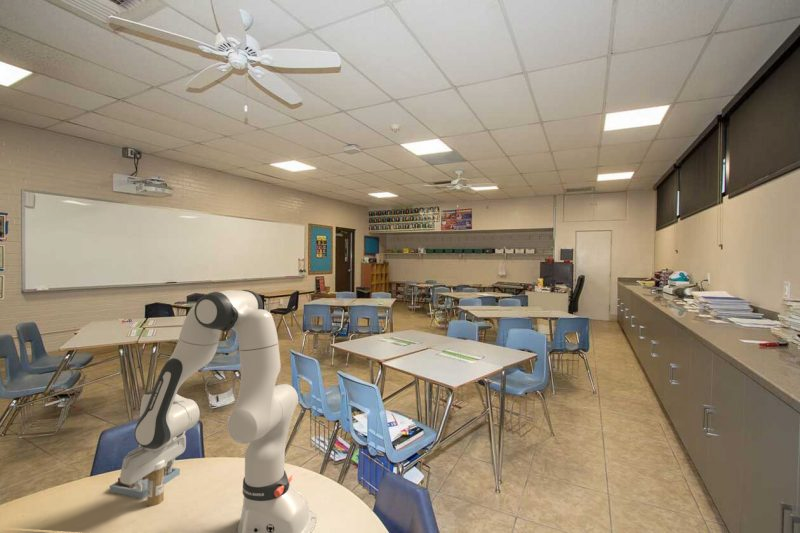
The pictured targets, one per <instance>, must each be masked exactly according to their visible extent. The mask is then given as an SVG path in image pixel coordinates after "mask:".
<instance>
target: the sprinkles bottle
mask: <svg viewBox="0 0 800 533" xmlns="http://www.w3.org/2000/svg"><path fill="white" fill-rule="evenodd" d="M164 466H166V464H165V460H163V461H161V462H159V463H158V464H156V465H155V470H154V471H153V472H151V473H149V474H148V489H147V496H146V497H147V503H146V505H147V506H148V507H154V506H155V507H156V506H158V505H160V504H161V503H163V502H164V500H165V496H164V494H165V493H164V490H165V484H164Z"/></svg>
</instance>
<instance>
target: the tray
mask: <svg viewBox="0 0 800 533" xmlns="http://www.w3.org/2000/svg"><path fill="white" fill-rule="evenodd" d="M165 467H166V465H164V468H165ZM180 473H181V468H178V467H173V466H172V472H170V473H169V474H164V485H166V484H167V483H169V482H170V481H172V480H173V479H175V478H176V477H177V476H180V475H181V474H180ZM141 483H144V484H145V489H144V490H143V491H141V492H137V491H136V486H135V487H133V488H128V487H123V486H118V480H117V481H115V482H114V483H112V484H111V485H109V492H110V493H115V494H120V495H124V496H128V497H132V498H137V499H145V498H147V497H148V496H147V489H148V478H147V479H145V480H144V479H142V481H141Z"/></svg>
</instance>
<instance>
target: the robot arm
mask: <svg viewBox="0 0 800 533" xmlns="http://www.w3.org/2000/svg"><path fill="white" fill-rule="evenodd" d="M263 308H264V303H263V300H262V297H261V296H260V295H259V294H258V293H257V292H255V291H252V290H249V289H241V290H240V289H239V290H235V289H234V290H233V289H226V290H222V291H221V290H220V291H213V292H209V293H206V294H205V295H202V296H201V297H200V298H199V299H197V301H196V303H195V305H194V306H192V307H191V308H190V309H189V310H188V313H187V314H186V317H185V319H184V321H183V324H182V326H181V329H180V333H179V337H178V341H177V343H176V345H175V348H174V350H173V352H172V353H171V355H170V356H169V358H168V360H167V361H166V363H165V364H164V365H163V367H162V369H161V370H160V373H159V374H158V377H157V379H156V382H155V385H154V387H153V388H152V389H150V390H148V391H147V392H145V393H144V394H143V396H142V398H141V401H140V408H139V418H138V420H137V422H136V425H135V428H134V439H135V441H136V443H137V444H138V447H136V448H135V449H132V450H131V451H129V452H128V453H127V454H126V455H125V457H124V458H123V459H122V465H121V470H120V476H119V477H120V482H121V483H123V484H127V485H131V484H133V483H134V484H135V485H136V491H137V492H141V491H143V490H144V489H145V484H144V483H141V481H142V478H143V477H145V476H146V475H148V474H149V473H151V472H153V471H154V470H155V465H156V464H158V463H159V462H161V461H163V460H165V466H166V467H165V468H164V474H169V473H170V472H172V467H173V466H174V464H175V462H176V458H177V457H179V456H180V455H182V454H184V453H185V450H186V448H187V436H186V431H188V430H190V429H191V428H193V427H195V426H196V425H197V424H198V423H199V421H200V420H201V419H200V417H201V413H202V412H201V407H200V405H199V403H198V402H197V401H195V400H194V399H192V398H186V397H184V396H181V395H180V394H178V391H179V389H180V387H181V386H182V385H183V384H184V382H185V381H186V380H188V379H189V378H190V377H191V376H192V375H194V374H195V373H196V372H198V371H199V370H201V369H203V368H204V367H206V366H207V365H208V364H209V363H210V362H211V361H212V360H213V358H214V356H215V354H216V352H217V350H218V347H219V342H220V337H221V333H222V332H229V331H231V330H233V331H234V332H235V333H236V336H237V339H238V349H239V350H238V351H239V364H240V383H239V388H238V395H237V398H236V402H235V405H234V407H233V409H232V411H231V412H230V414H229V416H228V418H227V420H226V430H227V432H228V433H227V434H229V437H230V438H231V439H232V440H233V441H234V442H235V443H237V444H240V445H246V444H248V445H247V448H246V449H245V450H246V451H245V454H244V477H243V479H242V480H243V481H242V495H243V501H242V502H243V504H242V510H241V514H240V519H239V522H238V525H237V533H309V532H310V531H311V530H312V528H313V526H314V524H315V522H316V523H317V520H316V518H317V513H316V512H314V511H313V510H310V509H309V508H310V507H309V504H308V503H309V502H308V501H307V498H306V497H304V496H303V495H302V494H301V493H300V492H299V491H298V490H296V489H295V488H294V487H293V486H292V485H291V484H290V483H291V481H292V480H293V475H290V476H289V478H288V475H287V473H286V470H285V460H286V459H285V458H286V457H285V456H286V455H285V454H286V452H285V451H286V446H287V445H286V444H287V439H288V435H289V430H290V425H291V423H292V419H293V416H294V413H295V410H296V408H297V406H298V404H299V395H298V391H297V390H296V389H295V387H293V386H292V385H290V384H287V383H281V384H277V385H276V382H277V379H278V376H279V374H280V373H281V367H282V364H281V354H280V344H279V335H278V332H277V331H278V330H277V327H276V324H275V321H274V320H275V319H274V317H273V315H272V313H271V312H269V311H268V310H266V309H263ZM312 519H314V520H313V521H312ZM315 525H316V524H315ZM312 531H313V530H312Z"/></svg>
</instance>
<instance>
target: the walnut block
mask: <svg viewBox="0 0 800 533" xmlns="http://www.w3.org/2000/svg"><path fill="white" fill-rule="evenodd" d="M117 481H118V486H123V487H128V488H133V487H135V486H136V485H135V484H134V483H133V484H131V485H127V484H123V483H121V482H120V476H119V477H118V478H117Z"/></svg>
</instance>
